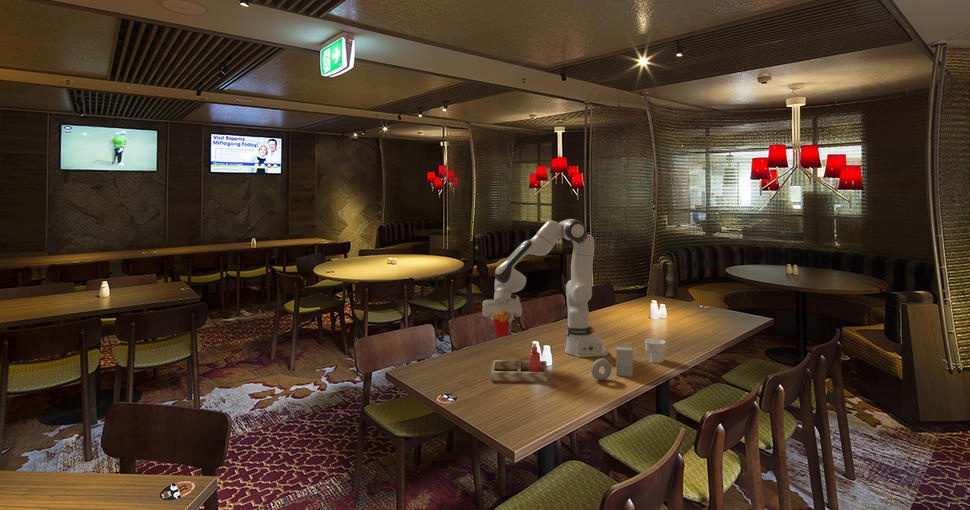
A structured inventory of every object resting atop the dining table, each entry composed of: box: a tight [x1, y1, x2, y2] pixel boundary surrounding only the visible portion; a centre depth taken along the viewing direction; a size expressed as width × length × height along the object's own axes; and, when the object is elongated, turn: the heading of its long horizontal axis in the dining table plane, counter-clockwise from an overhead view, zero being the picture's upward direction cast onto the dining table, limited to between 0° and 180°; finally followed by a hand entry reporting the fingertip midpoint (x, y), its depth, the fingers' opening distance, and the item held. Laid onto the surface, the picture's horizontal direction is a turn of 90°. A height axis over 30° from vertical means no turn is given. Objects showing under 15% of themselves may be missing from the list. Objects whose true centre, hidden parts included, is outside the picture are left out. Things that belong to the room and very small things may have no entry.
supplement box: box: [615, 344, 634, 378], centre depth 221 cm, size 7×7×13 cm
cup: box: [644, 337, 666, 364], centre depth 239 cm, size 10×10×10 cm
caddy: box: [490, 359, 549, 383], centre depth 221 cm, size 26×16×4 cm, turn 85°
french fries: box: [492, 311, 510, 338], centre depth 237 cm, size 8×4×12 cm, turn 113°
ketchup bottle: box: [528, 343, 541, 372], centre depth 218 cm, size 5×5×15 cm
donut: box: [590, 358, 612, 381], centre depth 213 cm, size 10×4×10 cm, turn 110°
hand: (501, 322), depth 236 cm, fingers closed on french fries, 6 cm apart
